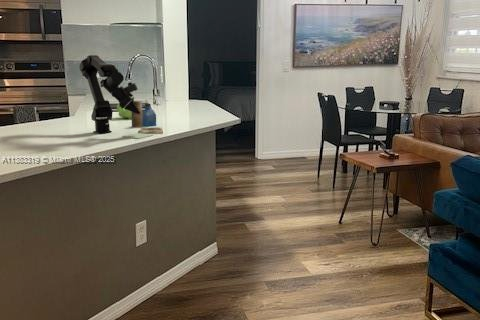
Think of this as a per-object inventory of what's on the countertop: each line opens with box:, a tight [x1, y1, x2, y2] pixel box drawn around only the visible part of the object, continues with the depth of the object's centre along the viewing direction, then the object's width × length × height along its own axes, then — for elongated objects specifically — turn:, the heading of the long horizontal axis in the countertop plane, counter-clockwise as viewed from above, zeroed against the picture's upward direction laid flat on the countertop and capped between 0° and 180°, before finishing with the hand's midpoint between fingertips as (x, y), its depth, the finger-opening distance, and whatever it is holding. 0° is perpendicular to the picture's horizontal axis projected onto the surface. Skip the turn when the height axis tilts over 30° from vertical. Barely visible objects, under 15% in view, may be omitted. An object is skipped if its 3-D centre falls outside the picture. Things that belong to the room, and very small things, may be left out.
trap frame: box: [139, 126, 164, 135], centre depth 231 cm, size 11×11×1 cm
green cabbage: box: [116, 103, 132, 120], centre depth 273 cm, size 12×12×10 cm
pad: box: [122, 132, 153, 140], centre depth 219 cm, size 10×10×1 cm
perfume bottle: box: [142, 102, 157, 128], centre depth 248 cm, size 6×6×12 cm
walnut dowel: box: [131, 100, 143, 128], centre depth 216 cm, size 5×5×12 cm
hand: (139, 112), depth 216 cm, fingers closed on walnut dowel, 5 cm apart
